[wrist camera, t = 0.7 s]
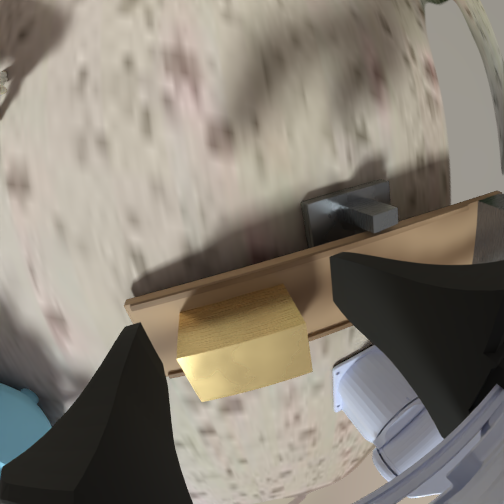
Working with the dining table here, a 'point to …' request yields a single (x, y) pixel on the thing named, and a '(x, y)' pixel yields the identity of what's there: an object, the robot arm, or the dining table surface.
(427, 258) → the beam
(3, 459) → the teapot
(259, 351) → the block
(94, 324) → the dining table surface
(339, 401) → the robot arm
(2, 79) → the bull figurine
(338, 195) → the pivot stand
